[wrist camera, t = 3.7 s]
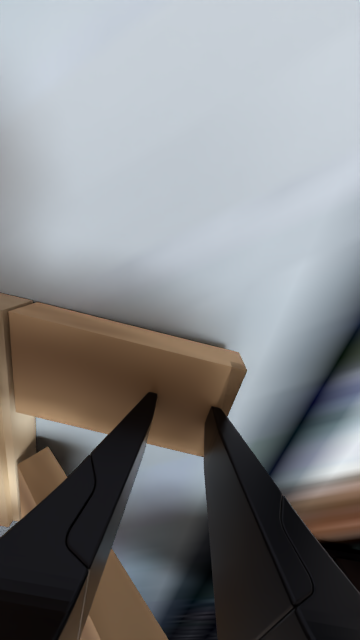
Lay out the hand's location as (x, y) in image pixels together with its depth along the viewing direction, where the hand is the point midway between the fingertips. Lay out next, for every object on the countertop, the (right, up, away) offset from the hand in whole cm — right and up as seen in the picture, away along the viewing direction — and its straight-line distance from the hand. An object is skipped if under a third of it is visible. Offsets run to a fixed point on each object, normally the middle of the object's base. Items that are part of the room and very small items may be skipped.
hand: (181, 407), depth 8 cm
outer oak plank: (-3, +1, +1) cm, 3 cm away
